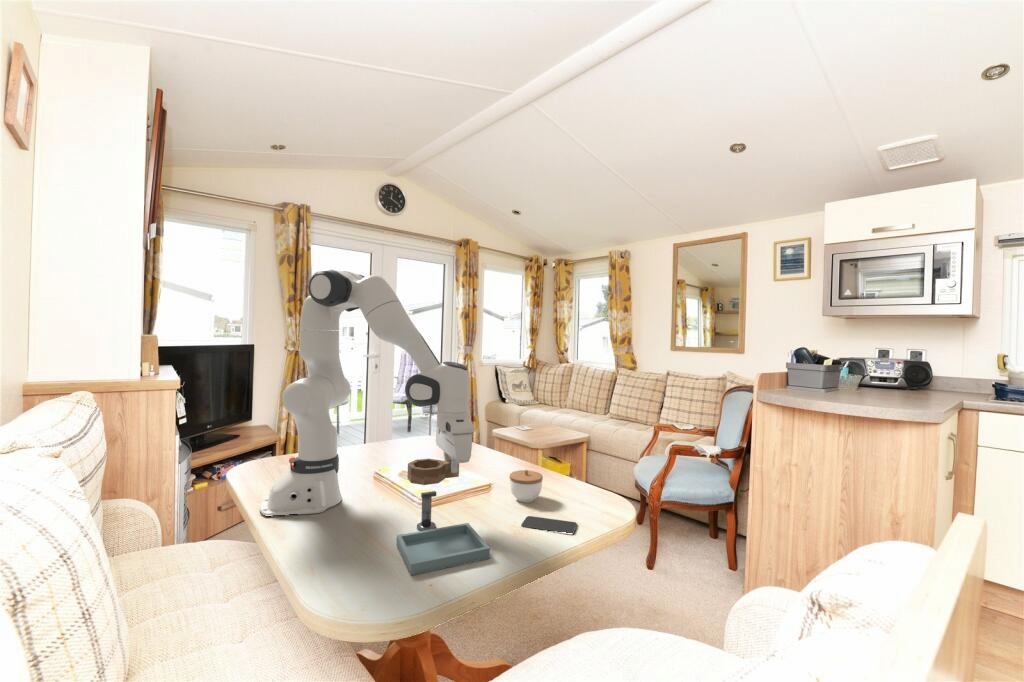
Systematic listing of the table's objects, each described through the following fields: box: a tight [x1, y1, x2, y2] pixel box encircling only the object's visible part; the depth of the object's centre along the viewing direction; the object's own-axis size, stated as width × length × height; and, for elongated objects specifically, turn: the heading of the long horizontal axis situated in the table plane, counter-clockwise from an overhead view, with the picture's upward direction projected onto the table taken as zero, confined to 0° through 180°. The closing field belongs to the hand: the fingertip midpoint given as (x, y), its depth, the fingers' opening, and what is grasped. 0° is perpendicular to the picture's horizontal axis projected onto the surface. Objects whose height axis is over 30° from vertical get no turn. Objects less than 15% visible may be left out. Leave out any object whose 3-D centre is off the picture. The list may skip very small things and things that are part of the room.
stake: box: [416, 490, 437, 532], centre depth 123 cm, size 5×5×10 cm
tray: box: [395, 522, 491, 576], centre depth 110 cm, size 19×15×2 cm
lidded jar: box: [509, 469, 544, 503], centre depth 145 cm, size 11×11×9 cm
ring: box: [407, 458, 460, 486], centre depth 123 cm, size 14×9×4 cm
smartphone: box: [520, 515, 578, 533], centre depth 126 cm, size 7×1×15 cm
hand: (450, 469), depth 125 cm, fingers closed on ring, 3 cm apart
